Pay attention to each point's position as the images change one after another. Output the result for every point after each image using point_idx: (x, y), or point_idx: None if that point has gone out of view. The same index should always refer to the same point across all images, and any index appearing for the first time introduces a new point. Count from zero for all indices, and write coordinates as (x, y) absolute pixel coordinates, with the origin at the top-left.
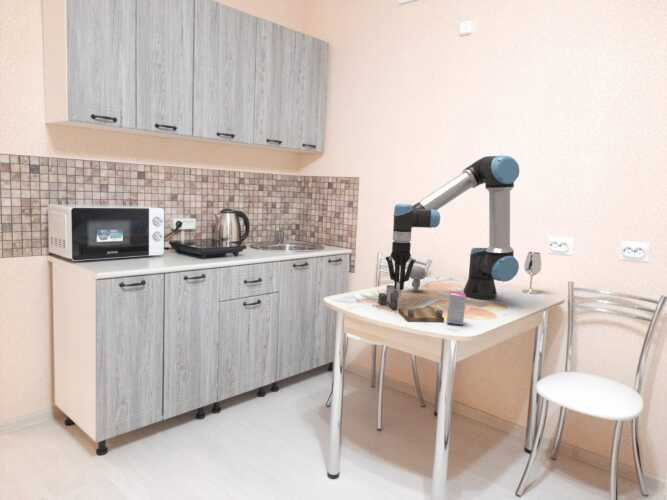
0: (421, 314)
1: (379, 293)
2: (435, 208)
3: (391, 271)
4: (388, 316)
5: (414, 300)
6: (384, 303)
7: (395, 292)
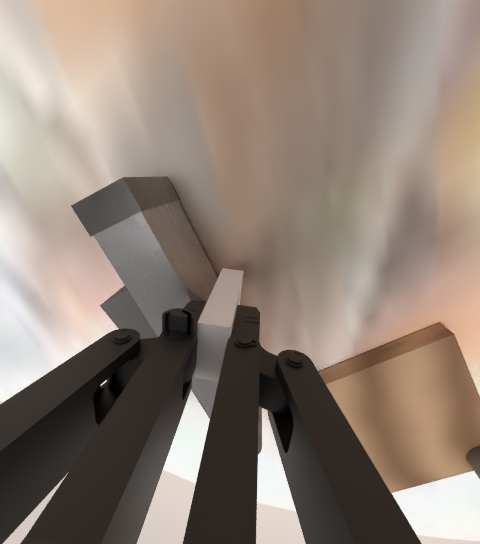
0: (398, 454)
1: (107, 311)
2: None
3: (65, 469)
4: (260, 460)
5: (300, 80)
6: None
7: None
